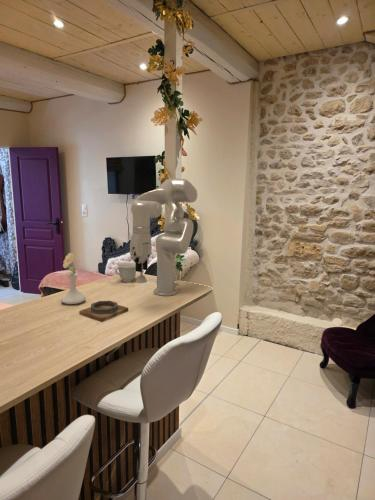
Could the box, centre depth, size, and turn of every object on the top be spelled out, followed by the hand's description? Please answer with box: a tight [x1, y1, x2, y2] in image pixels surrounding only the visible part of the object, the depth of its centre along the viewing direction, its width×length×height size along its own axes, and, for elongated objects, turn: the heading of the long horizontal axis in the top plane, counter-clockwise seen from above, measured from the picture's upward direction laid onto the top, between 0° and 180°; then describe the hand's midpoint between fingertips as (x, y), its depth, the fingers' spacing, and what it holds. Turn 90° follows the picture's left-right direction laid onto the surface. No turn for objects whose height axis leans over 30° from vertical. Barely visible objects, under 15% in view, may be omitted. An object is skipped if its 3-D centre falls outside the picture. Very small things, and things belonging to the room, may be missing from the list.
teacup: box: [114, 262, 137, 283], centre depth 197 cm, size 12×15×10 cm
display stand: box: [78, 300, 129, 323], centre depth 148 cm, size 16×14×4 cm
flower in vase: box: [60, 252, 87, 305], centre depth 158 cm, size 13×11×25 cm
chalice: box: [135, 242, 150, 284], centre depth 150 cm, size 7×7×18 cm
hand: (141, 270), depth 151 cm, fingers closed on chalice, 3 cm apart
